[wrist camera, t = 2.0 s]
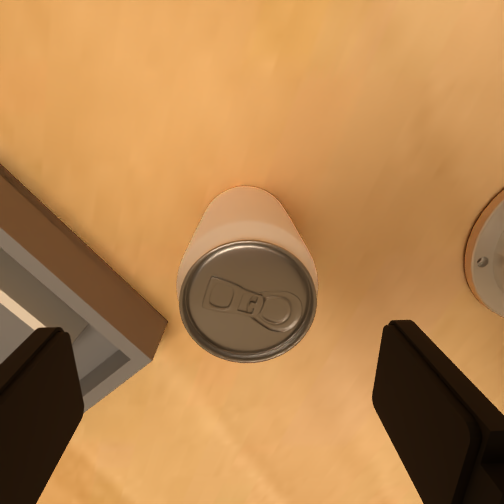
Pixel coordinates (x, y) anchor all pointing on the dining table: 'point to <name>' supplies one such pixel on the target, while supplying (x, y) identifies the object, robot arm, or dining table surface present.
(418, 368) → the robot arm
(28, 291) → the box
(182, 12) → the dining table surface
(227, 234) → the can
